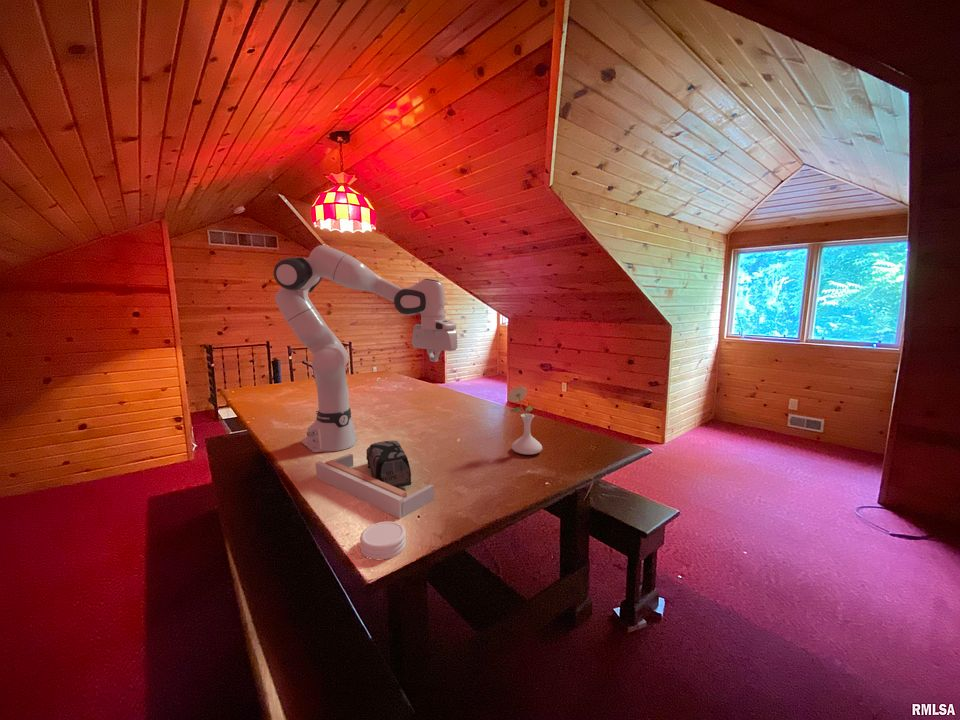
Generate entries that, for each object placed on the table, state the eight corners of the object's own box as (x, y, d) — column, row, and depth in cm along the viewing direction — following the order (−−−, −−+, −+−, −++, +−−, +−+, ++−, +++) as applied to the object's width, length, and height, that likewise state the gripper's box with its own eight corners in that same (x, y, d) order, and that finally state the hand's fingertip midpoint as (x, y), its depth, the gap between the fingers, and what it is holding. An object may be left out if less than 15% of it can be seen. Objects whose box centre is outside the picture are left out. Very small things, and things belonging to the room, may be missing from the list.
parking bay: (316, 477, 121) (315, 462, 121) (350, 464, 131) (350, 450, 130) (400, 518, 98) (399, 500, 97) (434, 499, 108) (433, 482, 107)
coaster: (352, 548, 87) (351, 534, 86) (388, 529, 94) (388, 515, 94) (377, 568, 80) (376, 552, 80) (415, 545, 88) (414, 531, 87)
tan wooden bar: (326, 477, 122) (325, 462, 121) (332, 474, 123) (331, 460, 123) (401, 512, 101) (400, 494, 100) (407, 509, 103) (406, 491, 102)
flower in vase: (539, 445, 149) (540, 382, 145) (545, 457, 137) (546, 388, 134) (505, 446, 148) (506, 382, 145) (508, 457, 137) (509, 389, 133)
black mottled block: (396, 459, 136) (395, 431, 135) (413, 489, 114) (412, 457, 112) (365, 463, 132) (364, 436, 131) (376, 496, 110) (374, 463, 108)
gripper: (407, 323, 145) (408, 359, 147) (448, 325, 133) (448, 364, 135) (419, 322, 150) (420, 358, 152) (459, 324, 138) (460, 362, 140)
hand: (434, 361), depth 143 cm, fingers closed
